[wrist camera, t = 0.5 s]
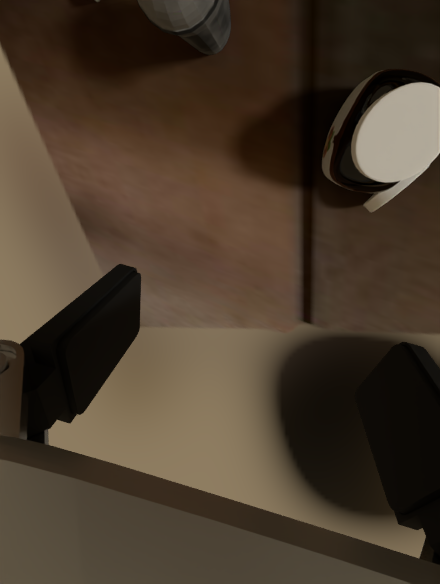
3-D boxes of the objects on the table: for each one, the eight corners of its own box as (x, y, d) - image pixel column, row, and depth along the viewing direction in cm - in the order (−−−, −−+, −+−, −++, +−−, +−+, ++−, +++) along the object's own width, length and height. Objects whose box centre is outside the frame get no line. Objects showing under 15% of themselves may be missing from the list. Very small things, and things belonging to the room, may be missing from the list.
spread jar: (349, 76, 27) (393, 38, 17) (450, 104, 27) (553, 82, 17) (303, 189, 33) (317, 209, 24) (384, 212, 33) (431, 242, 23)
